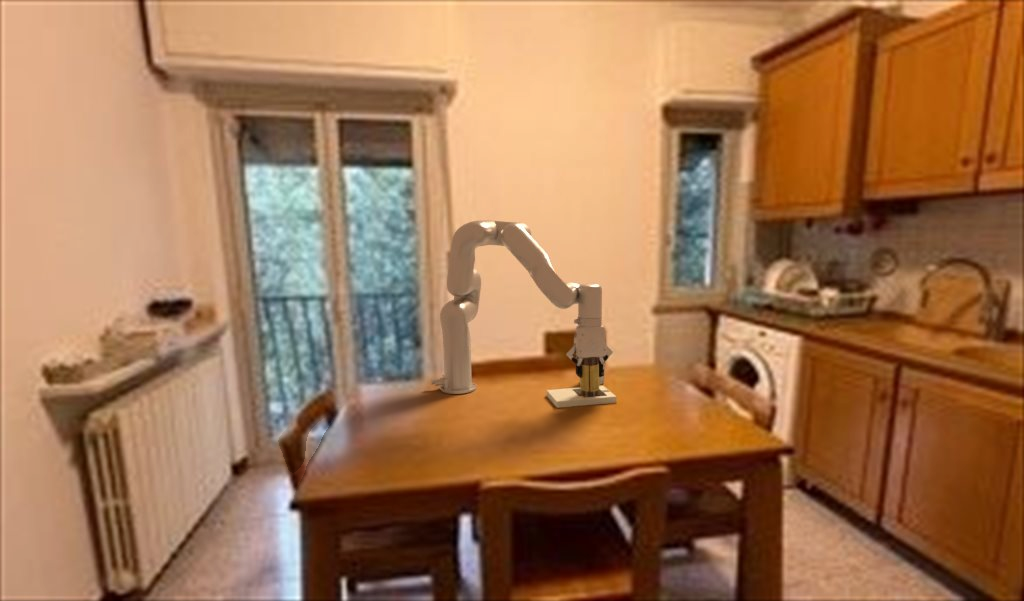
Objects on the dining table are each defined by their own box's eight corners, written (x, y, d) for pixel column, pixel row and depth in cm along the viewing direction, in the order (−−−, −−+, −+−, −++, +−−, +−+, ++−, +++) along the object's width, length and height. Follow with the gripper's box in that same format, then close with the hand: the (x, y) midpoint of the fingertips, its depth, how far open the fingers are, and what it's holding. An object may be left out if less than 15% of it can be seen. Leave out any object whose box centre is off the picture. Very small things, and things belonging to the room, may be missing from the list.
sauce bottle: (599, 392, 189) (600, 334, 186) (598, 398, 182) (599, 338, 179) (580, 391, 190) (580, 333, 187) (578, 397, 184) (579, 337, 181)
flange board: (556, 407, 178) (556, 401, 178) (546, 395, 190) (546, 389, 189) (616, 402, 182) (616, 396, 182) (602, 391, 194) (602, 385, 193)
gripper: (567, 325, 177) (567, 381, 180) (619, 322, 181) (618, 377, 183) (560, 321, 184) (560, 374, 187) (610, 318, 188) (609, 370, 191)
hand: (589, 375), depth 185 cm, fingers closed on sauce bottle, 6 cm apart
